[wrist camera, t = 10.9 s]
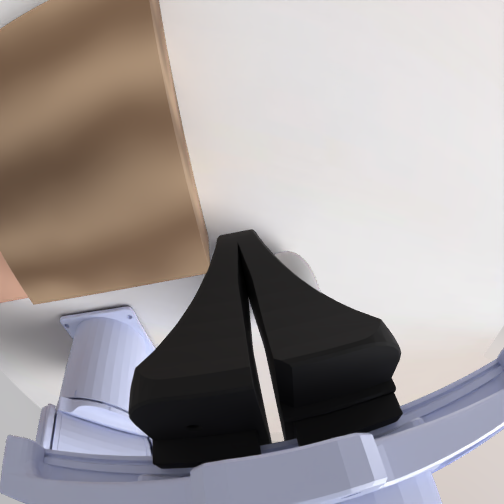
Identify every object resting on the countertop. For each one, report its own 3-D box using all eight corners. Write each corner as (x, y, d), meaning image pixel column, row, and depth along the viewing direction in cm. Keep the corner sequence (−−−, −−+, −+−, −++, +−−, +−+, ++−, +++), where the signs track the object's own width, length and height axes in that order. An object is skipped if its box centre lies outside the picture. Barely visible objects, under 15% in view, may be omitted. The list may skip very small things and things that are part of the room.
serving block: (208, 237, 22) (210, 272, 19) (49, 271, 22) (33, 304, 18) (155, -19, 11) (143, -37, 8) (-27, 68, 11) (-62, 78, 8)
